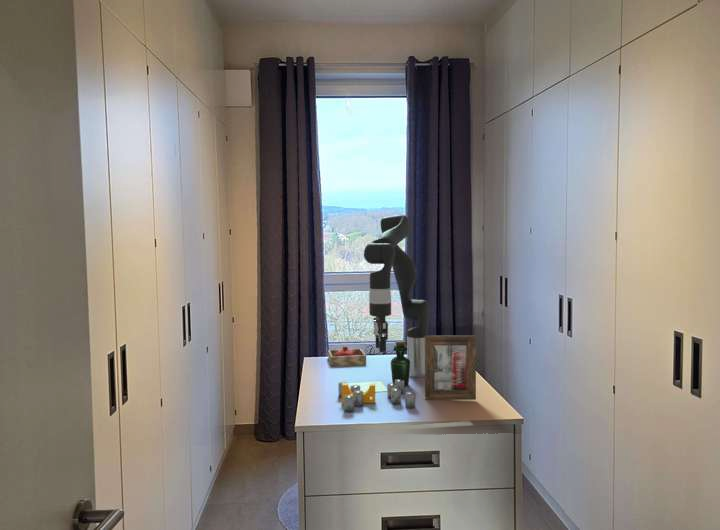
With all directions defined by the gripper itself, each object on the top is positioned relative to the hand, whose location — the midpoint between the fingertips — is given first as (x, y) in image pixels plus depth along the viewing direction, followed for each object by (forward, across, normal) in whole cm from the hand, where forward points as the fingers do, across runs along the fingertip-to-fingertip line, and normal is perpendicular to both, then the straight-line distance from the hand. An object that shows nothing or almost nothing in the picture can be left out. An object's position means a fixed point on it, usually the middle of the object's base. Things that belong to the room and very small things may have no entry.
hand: (380, 349), depth 177 cm
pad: (+22, +30, +1) cm, 37 cm away
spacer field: (+22, +12, 0) cm, 25 cm away
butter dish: (+22, +73, +4) cm, 76 cm away
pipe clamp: (+22, +11, +6) cm, 25 cm away
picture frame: (+22, +9, -28) cm, 37 cm away
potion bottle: (+22, +31, -14) cm, 40 cm away
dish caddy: (+22, +73, +3) cm, 76 cm away
